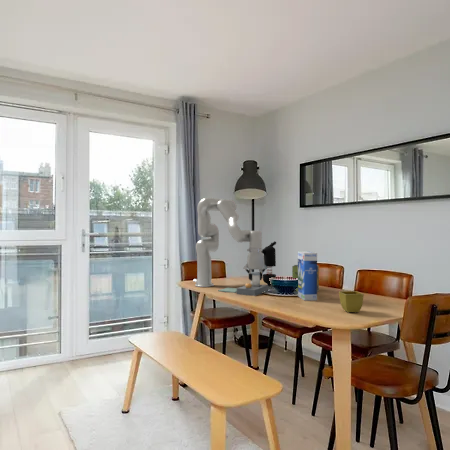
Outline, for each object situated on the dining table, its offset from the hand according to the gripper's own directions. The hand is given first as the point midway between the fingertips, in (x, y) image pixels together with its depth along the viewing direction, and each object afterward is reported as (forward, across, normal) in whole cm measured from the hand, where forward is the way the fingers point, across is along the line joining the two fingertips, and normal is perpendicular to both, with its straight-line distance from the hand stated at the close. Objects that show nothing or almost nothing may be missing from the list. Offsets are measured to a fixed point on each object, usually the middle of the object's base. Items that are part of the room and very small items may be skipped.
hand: (255, 279), depth 237 cm
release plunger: (+7, -7, -7) cm, 12 cm away
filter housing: (+7, -3, -3) cm, 8 cm away
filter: (+8, +15, +18) cm, 25 cm away
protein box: (+7, +32, -4) cm, 33 cm away
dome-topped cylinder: (+5, 0, 0) cm, 5 cm away
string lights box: (+7, +21, -29) cm, 36 cm away
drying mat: (+7, -14, +7) cm, 17 cm away
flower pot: (+7, +26, -65) cm, 70 cm away
